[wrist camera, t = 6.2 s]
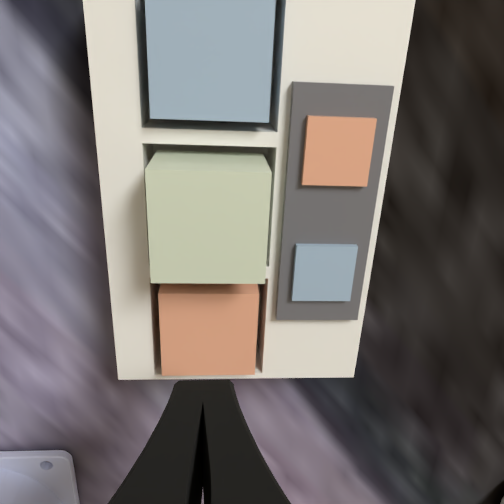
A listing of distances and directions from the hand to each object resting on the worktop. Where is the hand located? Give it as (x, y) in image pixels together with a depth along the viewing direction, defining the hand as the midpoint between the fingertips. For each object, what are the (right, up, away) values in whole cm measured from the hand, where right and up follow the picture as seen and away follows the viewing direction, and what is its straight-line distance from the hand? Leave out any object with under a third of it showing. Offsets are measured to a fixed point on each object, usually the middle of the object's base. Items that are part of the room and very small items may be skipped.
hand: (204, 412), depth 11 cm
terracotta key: (0, +2, +5) cm, 6 cm away
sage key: (0, +5, +2) cm, 6 cm away
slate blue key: (0, +10, +2) cm, 10 cm away
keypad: (+1, +6, +5) cm, 8 cm away
